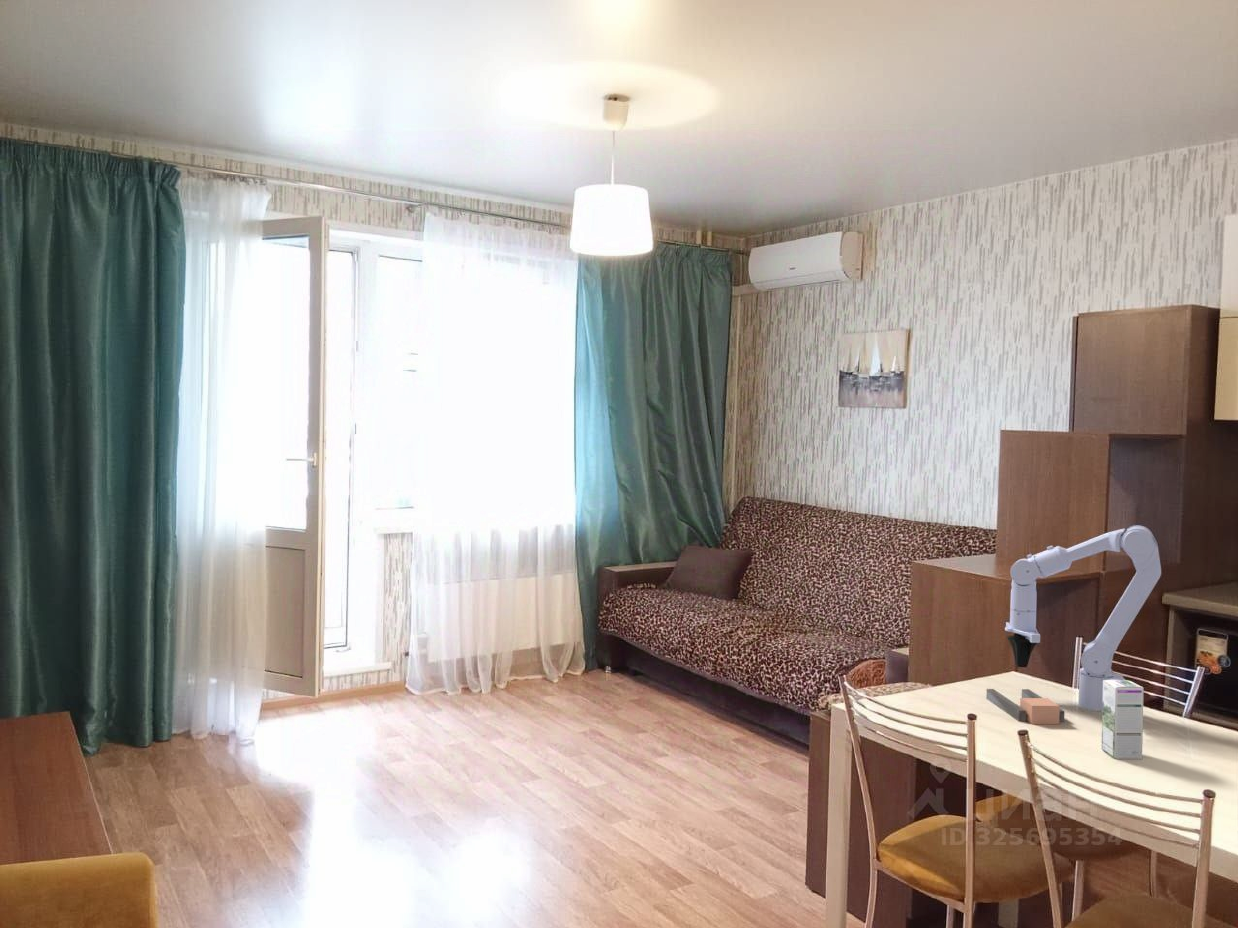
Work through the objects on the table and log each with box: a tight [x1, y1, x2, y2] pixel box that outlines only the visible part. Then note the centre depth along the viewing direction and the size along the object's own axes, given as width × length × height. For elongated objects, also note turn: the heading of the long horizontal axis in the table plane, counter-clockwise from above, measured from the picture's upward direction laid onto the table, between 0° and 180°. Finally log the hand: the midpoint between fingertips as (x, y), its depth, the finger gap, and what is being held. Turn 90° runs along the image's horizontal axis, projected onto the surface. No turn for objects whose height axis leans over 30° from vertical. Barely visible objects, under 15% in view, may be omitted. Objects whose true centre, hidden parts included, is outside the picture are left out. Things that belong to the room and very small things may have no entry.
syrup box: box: [1101, 679, 1144, 760], centre depth 197 cm, size 6×6×14 cm
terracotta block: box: [1019, 697, 1061, 725], centre depth 216 cm, size 6×6×4 cm
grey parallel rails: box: [985, 688, 1066, 723], centre depth 224 cm, size 12×24×4 cm, turn 1°
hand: (1021, 666), depth 235 cm, fingers closed
